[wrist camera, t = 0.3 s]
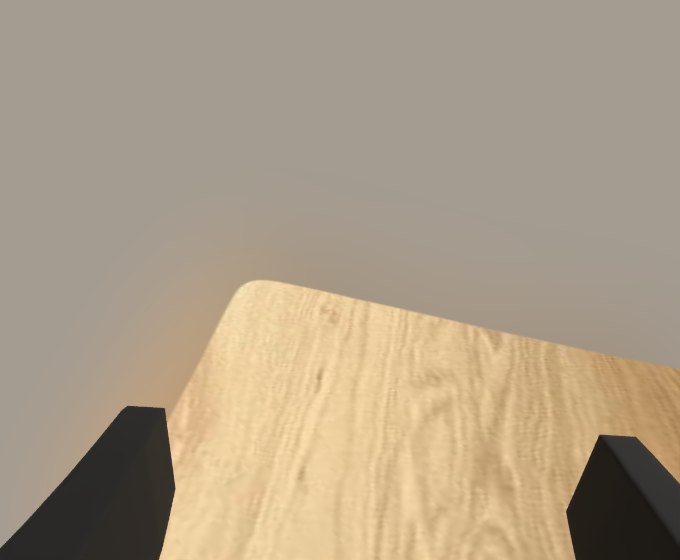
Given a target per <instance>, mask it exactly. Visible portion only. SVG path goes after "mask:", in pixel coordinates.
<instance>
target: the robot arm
mask: <svg viewBox="0 0 680 560" xmlns="http://www.w3.org/2000/svg"><path fill="white" fill-rule="evenodd" d="M174 493H175V482H174V474H173V467H172V459H171V451H170V444H169V436H168V429H167V421H166V414H165V409H164V408H153V407H138V406H136V407H135V406H127V407H126V408H124V409H123V410H122V411H121V412H120V413H119V414H118V416H117V417H116V418H115V419H114V421H113V422H112V423H111V424H110V426H109V427H108V428H107V429H106V430H105V432H104V433H103V434H102V435H101V437H100V438H99V439H98V440H97V442H96V443H95V444H94V445H93V446H92V447H91V449H90V450H89V451H88V453H86V455H85V456H84V457H83V458H82V459H81V461H80V462H79V463H78V464H77V465H76V466H75V468H74V469H73V470H72V471H71V472H70V473H69V475H68V476H67V477H66V478H65V479H64V480H63V482H62V483H61V484H60V485H59V486H58V487H57V488H56V489H55V490H54V491H53V492H52V494H51V495H50V496H49V497H48V498H47V499H46V500H45V501H44V502H43V504H42V505H41V506H40V507H39V508H38V509H37V510H36V512H34V514H33V515H32V516H31V517H30V518H29V519H28V520H27V521H26V522H25V523H24V524H23V525H22V527H21V528H20V529H19V530H18V531H17V532H16V533H15V534H14V535H13V536H12V537H11V538H10V539H9V540H8V541H7V542H6V543H5V544H4V545H3V546H2V547H1V548H0V560H159V557H160V554H161V551H162V547H163V543H164V539H165V534H166V530H167V526H168V521H169V516H170V512H171V507H172V502H173V498H174ZM566 514H567V519H568V524H569V529H570V534H571V539H572V544H573V549H574V553H575V558H576V560H680V484H679V483H678V481H677V480H676V479H675V478H674V477H673V476H672V475H671V474H670V473H669V472H668V471H667V469H666V468H665V467H664V466H663V465H662V464H661V463H660V462H659V461H658V460H657V459H656V458H655V456H654V455H653V454H652V453H651V452H650V451H649V450H648V449H647V448H646V447H645V446H644V445H643V444H642V443H641V442H640V441H639V440H638V439H637V438H636V437H628V436H612V435H599V437H598V440H597V442H596V444H595V446H594V449H593V451H592V453H591V456H590V458H589V460H588V462H587V465H586V467H585V469H584V472H583V474H582V476H581V478H580V481H579V483H578V485H577V488H576V490H575V492H574V495H573V497H572V499H571V501H570V504H569V506H568V508H567V511H566Z"/></svg>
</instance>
